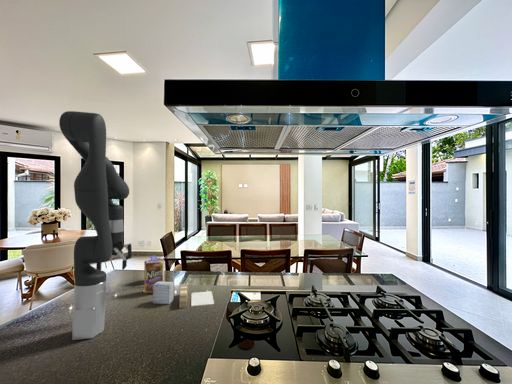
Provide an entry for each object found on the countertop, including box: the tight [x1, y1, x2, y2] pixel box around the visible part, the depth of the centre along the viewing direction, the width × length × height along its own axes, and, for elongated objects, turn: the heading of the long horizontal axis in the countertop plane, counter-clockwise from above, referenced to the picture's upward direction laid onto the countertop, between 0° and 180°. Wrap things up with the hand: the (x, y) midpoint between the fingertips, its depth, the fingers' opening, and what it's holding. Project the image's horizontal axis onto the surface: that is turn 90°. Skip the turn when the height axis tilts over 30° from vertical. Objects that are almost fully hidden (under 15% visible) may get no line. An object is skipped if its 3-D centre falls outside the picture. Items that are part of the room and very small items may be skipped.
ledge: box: [178, 283, 189, 309], centre depth 114 cm, size 16×3×5 cm, turn 14°
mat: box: [190, 291, 215, 308], centre depth 116 cm, size 16×10×1 cm, turn 14°
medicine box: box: [152, 281, 175, 305], centre depth 111 cm, size 8×4×9 cm, turn 84°
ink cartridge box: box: [143, 254, 165, 283], centre depth 142 cm, size 10×6×14 cm, turn 148°
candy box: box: [143, 260, 166, 294], centre depth 125 cm, size 9×4×15 cm, turn 98°
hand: (111, 269), depth 100 cm, fingers open, 8 cm apart
